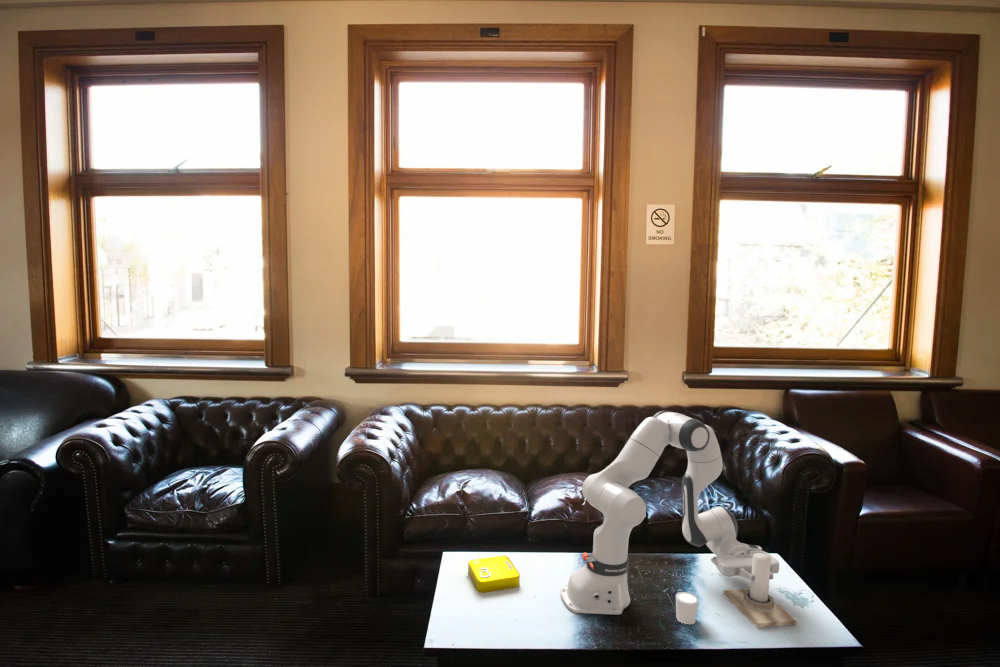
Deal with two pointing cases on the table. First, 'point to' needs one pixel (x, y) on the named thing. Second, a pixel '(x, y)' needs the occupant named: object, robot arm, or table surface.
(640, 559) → the table surface
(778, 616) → the roll holder
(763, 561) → the paper roll
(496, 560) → the element tile
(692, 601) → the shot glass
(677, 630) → the table surface
